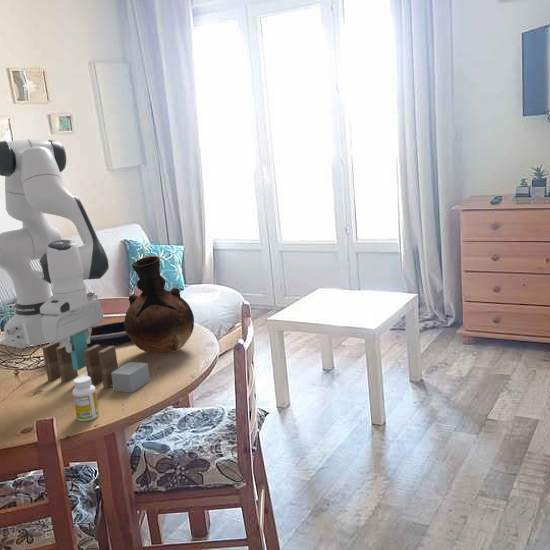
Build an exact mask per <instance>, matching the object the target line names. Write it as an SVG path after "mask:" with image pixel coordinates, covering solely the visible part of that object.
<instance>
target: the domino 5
mask: <svg viewBox="0 0 550 550" xmlns="http://www.w3.org/2000/svg"><path fill="white" fill-rule="evenodd" d="M98 353H99V360H100V366H101V373H102V379H103V381H102V385H103V388H110V387H111V386H113V383H112V376H111V373H112V372H113V371H115V370H117V369H119V365H118V358H117V357H118V356H117V352H116V346H114V345H108V347H105V348H103V349H101V351H99V352H98Z"/></svg>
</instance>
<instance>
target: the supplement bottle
mask: <svg viewBox="0 0 550 550" xmlns="http://www.w3.org/2000/svg"><path fill="white" fill-rule="evenodd" d="M73 386H74V388H73V390H72V398H73V399H72V400H73V405H74V411H75V412H74V413H75V416H76V419H77V421H80V422H89V421H91V420H95V419H96V418H98V417H99V415H100V409H99V408H100V407H99V403H98V395H97V389H96V387H95V385H94V386H93V385H91V378H90V377H89V376H88V375H87V376H79V377H77V378H76V377H75V378H74V379H73Z"/></svg>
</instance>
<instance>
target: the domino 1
mask: <svg viewBox="0 0 550 550" xmlns="http://www.w3.org/2000/svg"><path fill="white" fill-rule="evenodd" d="M58 347H60V343H59V342H57V343H49V344H45V345H43V346H42V349H41V350H42V353H43V359H44V365H45V371H46V376H47V381H51V382H53V381H55V380H58V379H59V378H61V377H60V370H59V365H58V359H57V353H56V348H58ZM58 377H59V378H58Z"/></svg>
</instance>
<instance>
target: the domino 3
mask: <svg viewBox="0 0 550 550" xmlns="http://www.w3.org/2000/svg"><path fill="white" fill-rule="evenodd" d="M69 342H70V344H71V345H74V349H75V350H74V351H73V352H71V357H72V363H73V369H74V370H77V371H80V370H82V369H83V368H85V367H86V361H85V355H84V350H86V349H88V348H89V347H87V341H86V335H85V330H84V331H81V332H79V333H77V334H75V335H73V336H70V341H69Z"/></svg>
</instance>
